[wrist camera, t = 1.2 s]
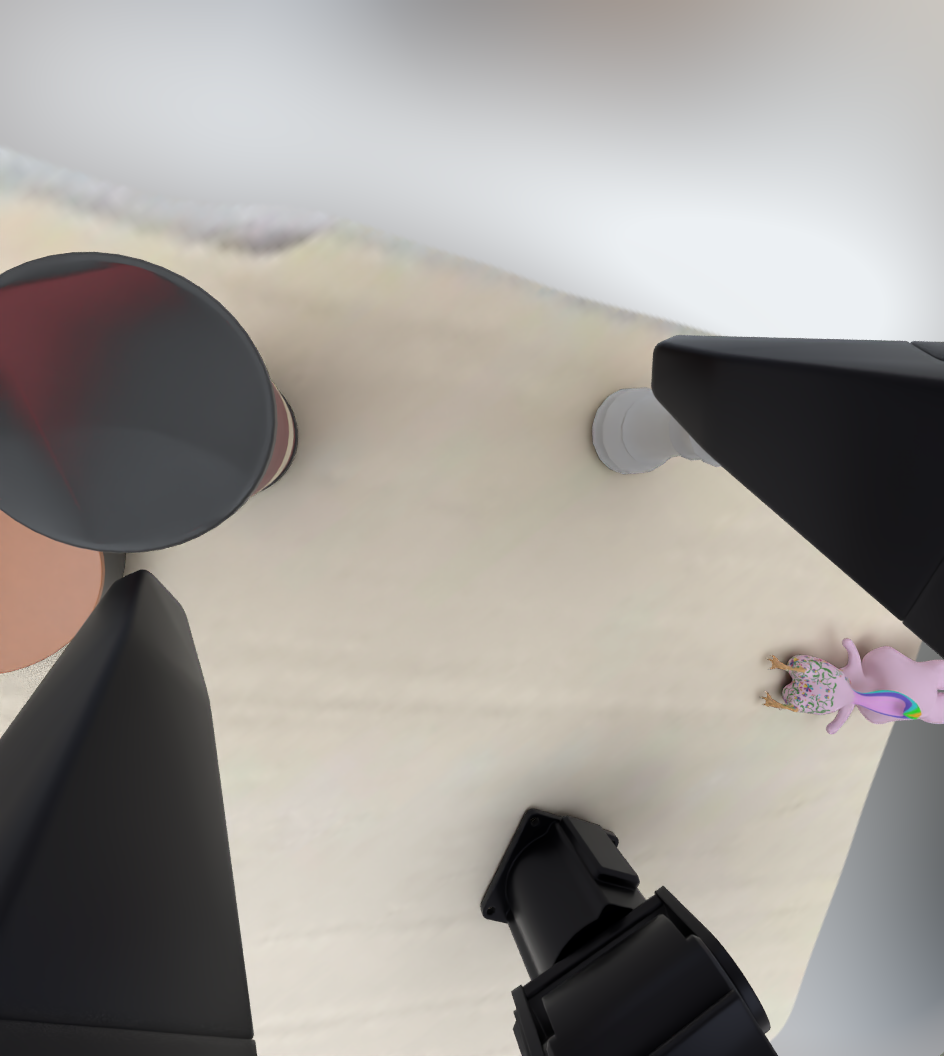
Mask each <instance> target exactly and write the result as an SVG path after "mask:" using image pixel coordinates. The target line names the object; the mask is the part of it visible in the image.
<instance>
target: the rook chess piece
mask: <svg viewBox="0 0 944 1056" xmlns="http://www.w3.org/2000/svg"><path fill="white" fill-rule="evenodd" d="M592 430H593V445H594V447H595V449H596V452H597V454H598V456H599V459H600V460H601V461H602V462H603V463H604V464H605V465H606V466H607V467H608V468H609V469H611V470H614V471H616V472H619V473H622V474H631V473H633V474H635V473H644V472H650V471H652V470H654V469H655V468H657V467H659V466H661V465H662V464H664V463H665V462H666V461H667V460H668V459H670V458H671V457H676V456H681V457H684V458H686V459H689V460H702V461H703V462H705V463H708V464H710V465H713V466H715V467H717V466H721V465H720V464H718V463H717V462H716V461H715V460H714V459H713V458H712V457H711V456H709V455H708V454H707V453H706V452H705V451H704V450H703V449H702V448H701V447H700V446H699V445H698V444H697V443H696V442H695V440H694V439H693V438H692V437H691V436H690V435H689V434H688V433H687V432H686V431H685V430H684V429H683V428H682V426H681V425H680V424H679V423H678V422H677V421H676V420H675V419H674V418H673V417H672V416H671V415H670V414H669V412H668V411H667V410H666V409H665V408H664V407H663V406H662V405H661V404H660V403H659V402H658V401H657V399H656V398H655V396H654V395H653V392H652V389H649V388H630V389H621V390H619V391H617V392H615V393H613V394H611V395H610V396H608V397H607V398H606V399H605V401H604V402H603V403H602V405H601V406H600V407H599V408H598V410H597V413H596V416H595V419H594V422H593V425H592Z"/></svg>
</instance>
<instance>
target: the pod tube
mask: <svg viewBox="0 0 944 1056" xmlns="http://www.w3.org/2000/svg"><path fill="white" fill-rule="evenodd" d="M297 443H298V429H297V423H296V420H295V416H294V414H293V411H292V409H291V407H290V405H289V404H288V402H287V400H286V399H285V397H284V396H283V395H282V394H281V392H280V391H279V390H278V389H277V387H276V386H275V384H274V383H273V382H272V380H271V379H270V376H269V373H268V370H267V368H266V366H265V364H264V362H263V359H262V357H261V355H260V353H259V352H258V350H257V348H256V347H255V345H254V344H253V342H252V340H251V339H250V337H249V335H248V334H247V333H246V331H245V330H244V329H243V327H242V326H241V325H240V324H239V322H238V321H237V320H236V319H235V317H234V316H233V315H232V314H231V313H230V312H229V311H228V310H227V309H226V308H225V307H224V306H223V305H222V304H221V303H220V302H218V301H217V300H216V299H215V298H213V297H212V296H211V295H210V294H208V293H207V292H206V291H204V290H203V289H202V288H200V287H199V286H197V285H195V284H194V283H192V282H191V281H189V280H187V279H186V278H184V277H182V276H180V275H178V274H176V273H174V272H172V271H170V270H168V269H166V268H164V267H161V266H158V265H155V264H152V263H150V262H147V261H144V260H141V259H136V258H132V257H128V256H123V255H119V254H109V253H100V252H72V253H65V254H58V255H50V256H47V257H43V258H39V259H36V260H32V261H29V262H26V263H23V264H21V265H19V266H17V267H14V268H12V269H10V270H7V271H6V272H4V273H2V274H1V275H0V510H1V511H3V512H4V513H5V514H7V515H8V516H10V517H11V518H12V519H14V520H15V521H17V522H19V523H20V524H22V525H24V526H25V527H27V528H29V529H31V530H32V531H34V532H36V533H39V534H41V535H43V536H46V537H48V538H50V539H52V540H55V541H58V542H61V543H64V544H68V545H71V546H74V547H78V548H83V549H88V550H93V551H99V552H112V553H140V552H148V551H154V550H161V549H165V548H169V547H172V546H176V545H180V544H182V543H185V542H187V541H190V540H192V539H195V538H197V537H200V536H201V535H203V534H205V533H207V532H208V531H210V530H212V529H214V528H216V527H217V526H218V525H220V524H221V523H222V522H224V521H225V520H226V519H228V518H229V517H230V516H232V515H233V514H234V513H235V512H236V511H237V510H238V509H239V508H240V507H242V506H243V505H244V504H245V503H246V502H247V500H248V499H249V498H250V497H252V496H254V495H255V494H257V493H258V492H260V491H262V490H264V489H266V488H268V487H269V486H271V485H272V484H274V483H275V482H276V481H278V480H279V479H280V478H281V477H282V476H283V475H284V473H285V472H286V471H287V470H288V468H289V466H290V465H291V463H292V461H293V459H294V456H295V453H296V449H297Z"/></svg>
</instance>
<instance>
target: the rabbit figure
mask: <svg viewBox="0 0 944 1056" xmlns="http://www.w3.org/2000/svg"><path fill="white" fill-rule="evenodd" d="M842 645H843V646H844V647H845V648H846V649H847V651H848V656H849V659H848V664H847V665H846V666H845V667H843V668H840V669H838V668H837V667H835V666H833V665H832V664H830V663H828V662H826V661H824V660H822V659H820V658H817V657H813V656H808V655H796V656H794V657H792V658H791V659H790V660H789V661H788V663H787V665H785V664H783V663H781V662H779V661H778V659H777V658H775V656H773V655H770V656H772V657H773V660H771V659H769V658H766V659H767V660H770V661H772V668H769V670H771V669H773V668H774V669H775V668H778V669H784V670H785V671H788V673H789V674H790V676H791V677H792V682H791V683H790V684H788V685H786V686H785V687H784V689H783V691H782V697H783V699H784V701H785V703H786V704H787V705H784V704H780V703H778V702H776V701H775V700H773V699H772V698H771V696H770V695H769V693H768V692H767V691H765V692H766V693H767V698H766V697H760V698H762V699H765V700H766V704H762V705H766V706H768V707H769V706H772V707H775V708H779V710H781V708H783V709H789V710H791V711H794V712H804V713H811V714H829V713H832V712H835V711H837V710H839V711H838V714H837V716H836V718H835V719H834V720H833V721H832V722H831V723H829V724H828V725H827V727H826V731H827V732H828V733H829V734H834V733H836V732H837V731H838V730H839V728H840V727H841V726H842V725H843V724H844V723H845V721H846V720H847V719H848V717H849V715H850V714H851V712H852V710H853V708H854V706H855V704H856V705H857V707H858V709H859V711H860V712H861V713H862V714H863V716H864V717H865V718H866V719H867V720H869V721H870V722H872V723H875V724H883V723H888V722H891V721H896V720H914V719H919V718H920V719H921V720H924V721H925V722H929V723H935V724H943V723H944V693H938V692H937V689H938V690H944V660H931V661H925V662H915V661H913V660H911V659H910V658H908V657H906V656H905V655H903V654H901V653H900V652H898V651H897V650H895V649H894V648H892V647H889V646H883V647H879V648H876V649H874V650H872V651H870V652H868V653H867V654H866V655H865V656H864V658H863V659H862V662H861V660H860V655H859V653H858V650H857V648H856V647H855V645H854V643H853V641H852V640H851V639H849V638H844V639H843V641H842Z"/></svg>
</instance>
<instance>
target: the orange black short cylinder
mask: <svg viewBox="0 0 944 1056" xmlns="http://www.w3.org/2000/svg"><path fill="white" fill-rule="evenodd" d="M124 568H125V553H112V552H99V551H93V550H88V549H83V548H78V547H74V546H71V545H68V544H64V543H61V542H58V541H55V540H52V539H50V538H48V537H46V536H43V535H41V534H39V533H36V532H34V531H32V530H31V529H29V528H27V527H25V526H24V525H22V524H20V523H19V522H17V521H15V520H14V519H12V518H11V517H10V516H8V515H7V514H5V513H4V512H3V511H1V510H0V674H1V673H6V672H11V671H15V670H18V669H21V668H25V667H28V666H30V665H32V664H35V663H37V662H39V661H42V660H44V659H45V658H47V657H49V656H51V655H52V654H54V653H56V652H57V651H59V650H60V649H61V648H63V647H64V646H65V645H67V644H68V643H69V642H70V641H71V640H72V639H73V638H74V636H75V635H76V634H77V632H78V631H79V629H80V628H81V627H82V625H83V624H84V622H85V621H86V620H87V618H88V617H89V616H90V614H91V613H92V611H93V610H94V609H95V607H96V606H97V605H98V603H99V602H100V600H101V599H102V598H103V596H104V595H105V593H106V592H107V591H108V589H109V588H110V587H111V585H112V584H113V583H114V582H115V581H116V580H118V579H120V578H122V577H123V572H124Z"/></svg>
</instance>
